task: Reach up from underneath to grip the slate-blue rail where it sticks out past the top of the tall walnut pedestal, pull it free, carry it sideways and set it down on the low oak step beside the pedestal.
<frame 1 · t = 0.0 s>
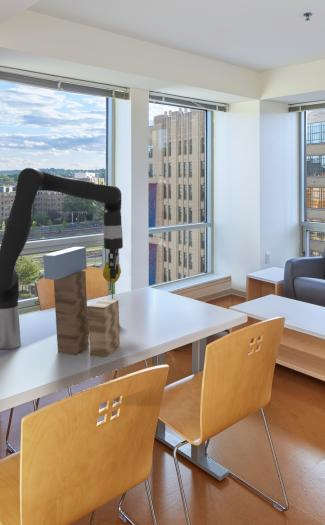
hand: (114, 276, 190), 29 cm above the table, tool pointing down, fingers open, 8 cm apart
step: (105, 351, 189), on the table
flower: (113, 323, 225), on the table
rail: (66, 273, 184), point 32 cm above the table, touching pedestal
pedestal: (73, 349, 191), on the table
floral patterned curved piece: (91, 331, 215), on the table
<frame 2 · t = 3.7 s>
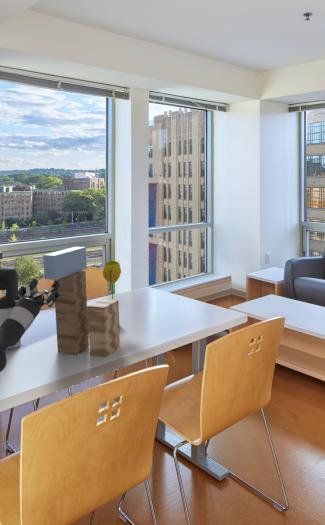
hand: (47, 281, 159), 34 cm above the table, tool pointing upward, fingers open, 8 cm apart
nothing on the table moved.
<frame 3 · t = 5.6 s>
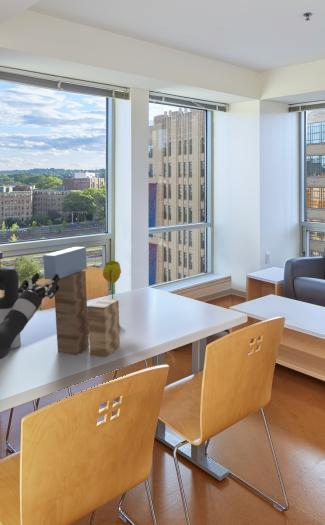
hand: (48, 275, 171), 34 cm above the table, tool pointing upward, fingers open, 8 cm apart
nothing on the table moved.
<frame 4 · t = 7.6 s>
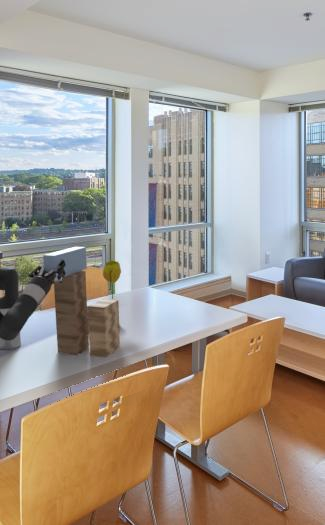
hand: (57, 261, 177), 38 cm above the table, tool pointing upward, fingers closed on rail, 5 cm apart
rail: (66, 273, 184), point 32 cm above the table, touching gripper, pedestal
everything else where it was.
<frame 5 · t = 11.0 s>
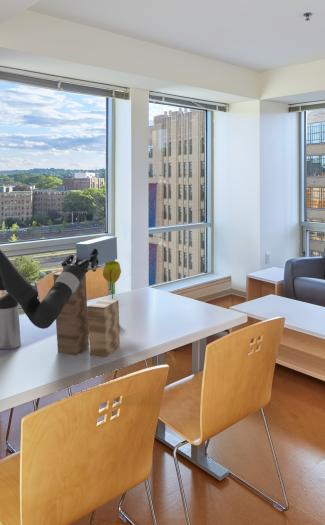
hand: (90, 250, 175), 42 cm above the table, tool pointing upward, fingers closed on rail, 5 cm apart
rail: (98, 263, 181), point 36 cm above the table, touching gripper
everything else where it was.
when the fingers open (27 cm above the table, at t = 14.6 s): rail drops 1 cm, resting on step.
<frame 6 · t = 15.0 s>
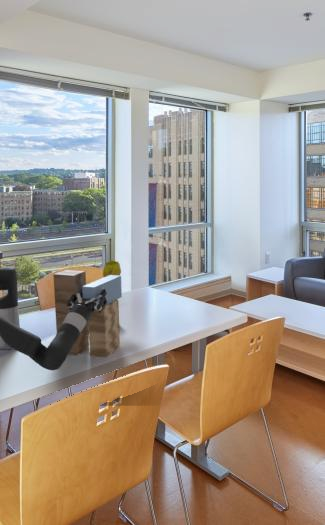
hand: (94, 289, 179), 27 cm above the table, tool pointing upward, fingers open, 8 cm apart
rail: (103, 303, 185), point 20 cm above the table, touching step
everything else where it was.
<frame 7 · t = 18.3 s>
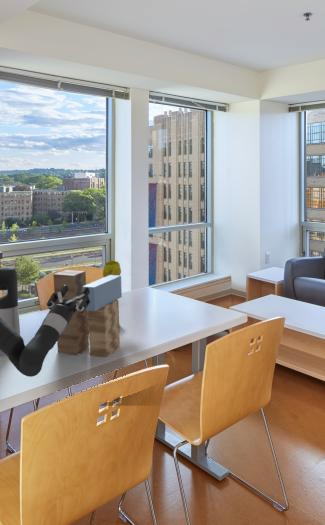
hand: (77, 287, 167), 30 cm above the table, tool pointing upward, fingers open, 8 cm apart
nothing on the table moved.
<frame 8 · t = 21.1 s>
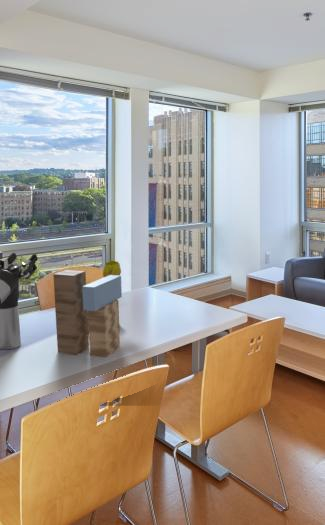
hand: (25, 255, 161), 43 cm above the table, tool pointing upward, fingers open, 8 cm apart
nothing on the table moved.
at the end: rail inside the target area on the step (0.2 cm from its centre), point 20.0 cm above the step's base; rail touching step; the gripper is holding nothing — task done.
